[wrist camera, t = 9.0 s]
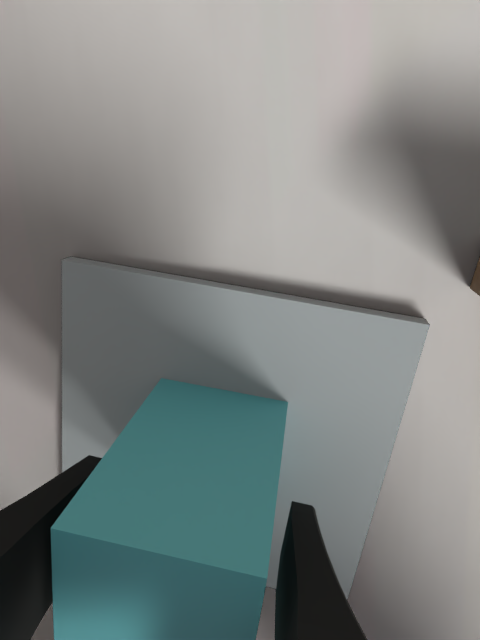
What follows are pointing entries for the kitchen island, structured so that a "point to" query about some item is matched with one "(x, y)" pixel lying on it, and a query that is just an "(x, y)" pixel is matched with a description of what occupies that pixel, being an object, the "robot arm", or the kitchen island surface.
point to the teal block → (173, 522)
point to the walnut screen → (476, 279)
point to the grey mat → (246, 380)
